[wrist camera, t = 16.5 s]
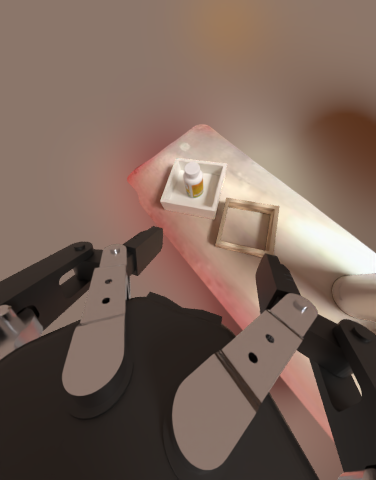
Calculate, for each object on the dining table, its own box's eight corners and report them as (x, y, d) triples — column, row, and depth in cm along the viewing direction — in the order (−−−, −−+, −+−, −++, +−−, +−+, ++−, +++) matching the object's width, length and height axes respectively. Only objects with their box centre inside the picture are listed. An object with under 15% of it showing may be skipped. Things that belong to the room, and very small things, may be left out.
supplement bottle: (206, 186, 46) (205, 161, 37) (200, 200, 45) (198, 178, 36) (190, 182, 48) (185, 157, 38) (184, 196, 46) (178, 174, 37)
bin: (225, 175, 48) (227, 163, 43) (214, 219, 44) (215, 211, 39) (179, 169, 51) (176, 157, 46) (164, 209, 47) (159, 201, 42)
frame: (274, 211, 42) (279, 206, 39) (268, 258, 38) (273, 256, 36) (225, 203, 45) (226, 197, 42) (215, 246, 41) (215, 243, 38)
